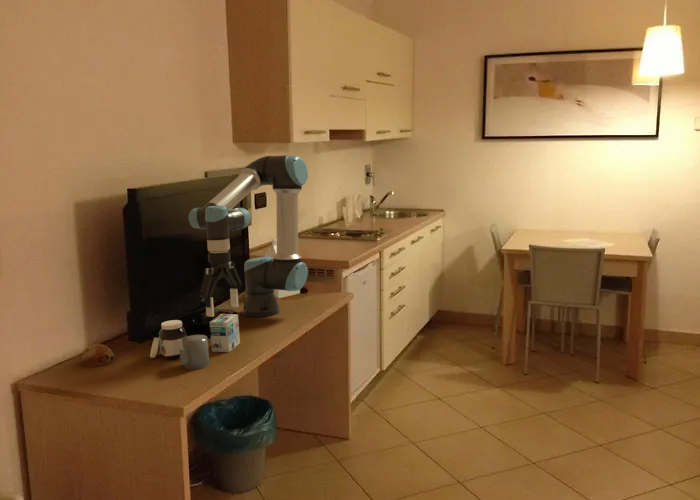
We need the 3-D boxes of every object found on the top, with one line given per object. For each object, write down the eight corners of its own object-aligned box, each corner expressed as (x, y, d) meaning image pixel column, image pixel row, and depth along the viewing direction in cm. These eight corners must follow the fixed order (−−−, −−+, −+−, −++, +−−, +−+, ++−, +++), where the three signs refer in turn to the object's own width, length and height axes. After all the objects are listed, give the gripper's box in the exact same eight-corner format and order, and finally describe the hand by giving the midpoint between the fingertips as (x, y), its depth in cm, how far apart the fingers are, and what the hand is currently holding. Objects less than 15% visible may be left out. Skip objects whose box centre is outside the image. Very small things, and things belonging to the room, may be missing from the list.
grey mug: (195, 359, 218) (193, 333, 216) (214, 362, 214) (212, 336, 213) (173, 370, 208) (170, 343, 207) (192, 373, 205) (190, 346, 203)
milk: (285, 289, 311) (282, 235, 306) (300, 293, 302) (297, 238, 297) (264, 294, 303) (261, 239, 298) (278, 298, 294) (275, 241, 290)
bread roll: (102, 366, 226) (92, 345, 226) (122, 356, 221) (112, 335, 221) (81, 376, 217) (71, 354, 217) (102, 366, 212) (91, 344, 212)
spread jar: (192, 355, 222) (189, 323, 219) (161, 365, 214) (158, 331, 212) (174, 348, 230) (171, 316, 228) (144, 356, 222) (141, 324, 220)
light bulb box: (229, 352, 223) (227, 322, 221) (211, 352, 225) (208, 322, 223) (240, 342, 234) (238, 313, 232) (223, 342, 235) (220, 313, 233)
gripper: (232, 244, 236) (235, 301, 239) (185, 256, 214) (190, 319, 217) (249, 245, 232) (252, 303, 236) (203, 258, 210) (208, 321, 214)
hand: (222, 311), depth 227 cm, fingers open, 13 cm apart
